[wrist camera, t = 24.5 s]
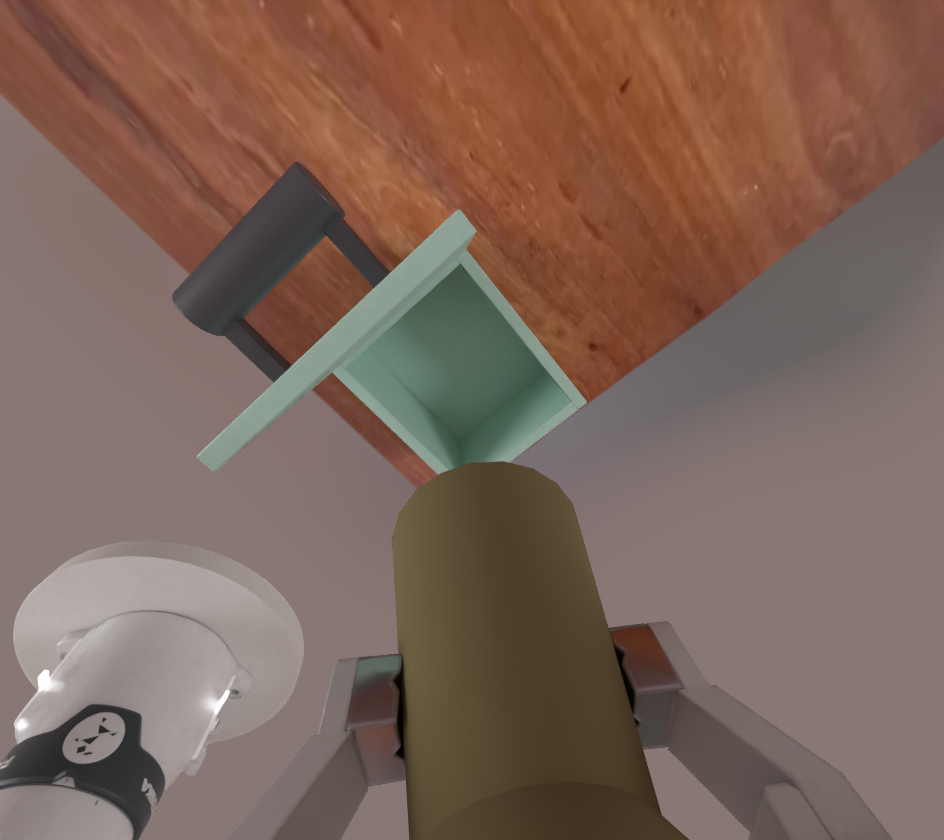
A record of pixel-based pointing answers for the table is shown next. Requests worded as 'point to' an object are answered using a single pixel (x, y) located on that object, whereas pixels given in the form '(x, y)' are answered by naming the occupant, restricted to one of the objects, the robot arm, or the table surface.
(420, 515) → the brown pawn
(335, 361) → the lid
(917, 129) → the table surface
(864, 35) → the table surface
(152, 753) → the robot arm
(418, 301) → the light green open box
